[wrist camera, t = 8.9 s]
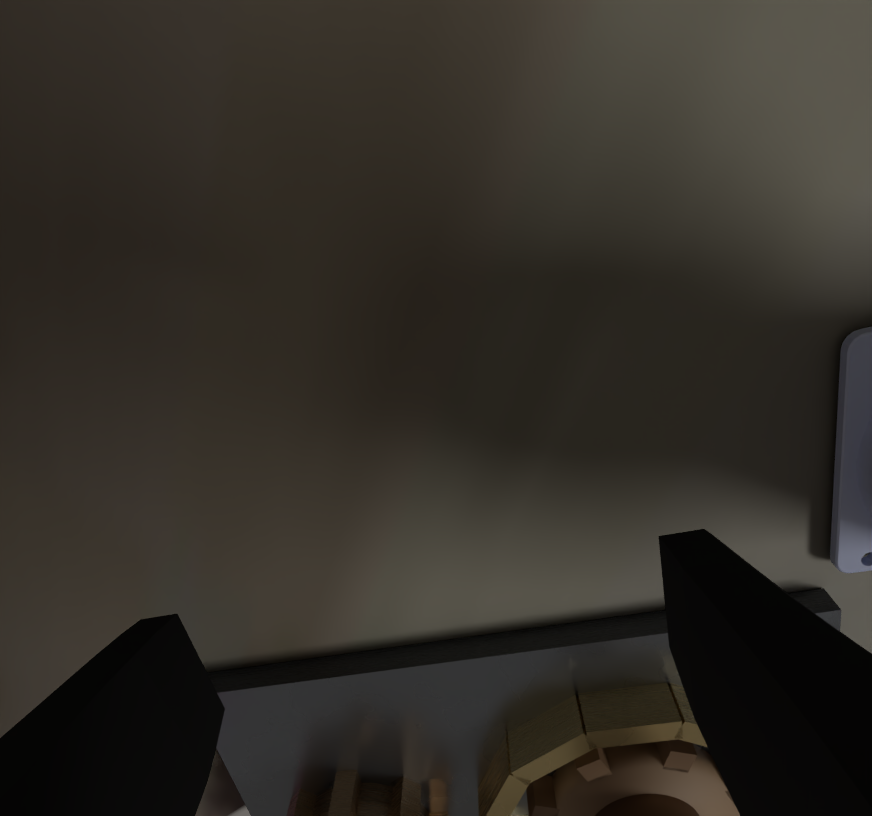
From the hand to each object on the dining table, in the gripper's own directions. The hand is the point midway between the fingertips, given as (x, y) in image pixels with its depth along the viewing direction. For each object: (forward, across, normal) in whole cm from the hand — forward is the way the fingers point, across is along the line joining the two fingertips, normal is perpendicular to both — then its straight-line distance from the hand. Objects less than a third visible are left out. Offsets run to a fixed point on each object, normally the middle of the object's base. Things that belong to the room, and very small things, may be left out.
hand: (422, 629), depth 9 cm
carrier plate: (+9, 0, +17) cm, 20 cm away
